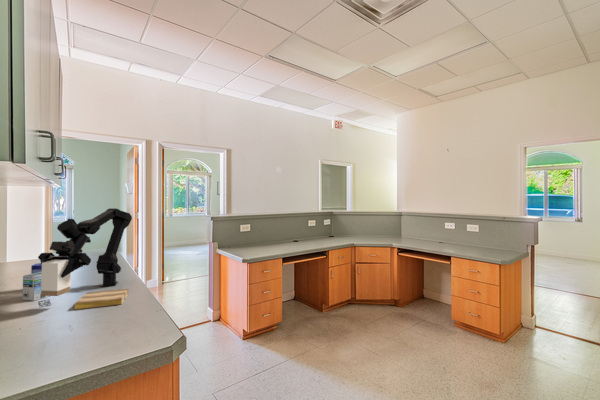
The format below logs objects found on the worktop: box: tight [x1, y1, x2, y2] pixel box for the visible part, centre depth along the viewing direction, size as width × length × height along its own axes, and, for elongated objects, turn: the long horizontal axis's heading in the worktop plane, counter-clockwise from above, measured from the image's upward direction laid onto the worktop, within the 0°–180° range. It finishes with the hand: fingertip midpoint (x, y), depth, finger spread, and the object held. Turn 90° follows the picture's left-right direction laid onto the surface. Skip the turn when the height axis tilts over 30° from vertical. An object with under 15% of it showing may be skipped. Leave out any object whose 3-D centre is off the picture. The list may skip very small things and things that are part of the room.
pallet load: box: [41, 259, 71, 297], centre depth 114 cm, size 6×6×13 cm
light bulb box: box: [22, 272, 50, 302], centre depth 127 cm, size 11×7×11 cm, turn 168°
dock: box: [74, 288, 129, 310], centre depth 122 cm, size 14×16×2 cm
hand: (52, 276), depth 113 cm, fingers closed on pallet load, 7 cm apart
